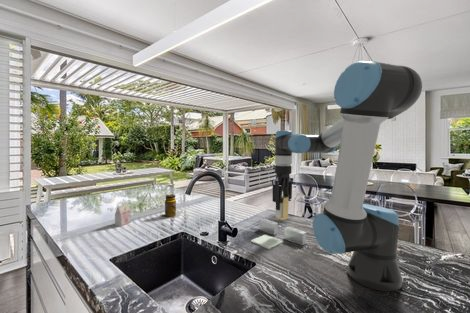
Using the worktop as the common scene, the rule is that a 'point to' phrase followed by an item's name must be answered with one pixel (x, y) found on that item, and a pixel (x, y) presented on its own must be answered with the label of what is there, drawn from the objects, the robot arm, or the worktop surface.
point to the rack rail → (289, 232)
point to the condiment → (170, 207)
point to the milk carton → (122, 215)
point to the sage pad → (267, 241)
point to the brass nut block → (284, 208)
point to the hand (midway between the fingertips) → (281, 215)
